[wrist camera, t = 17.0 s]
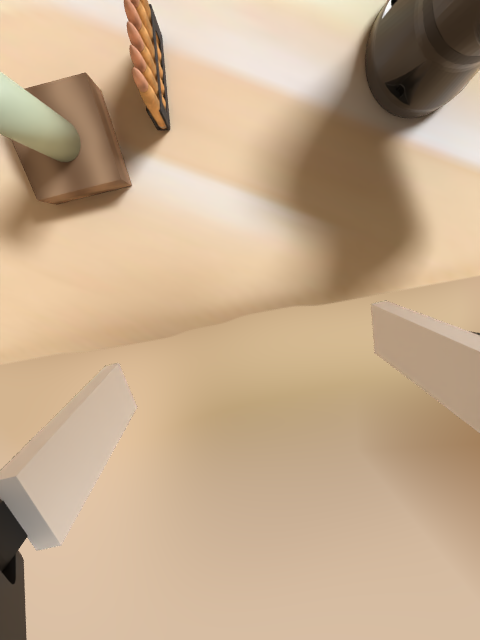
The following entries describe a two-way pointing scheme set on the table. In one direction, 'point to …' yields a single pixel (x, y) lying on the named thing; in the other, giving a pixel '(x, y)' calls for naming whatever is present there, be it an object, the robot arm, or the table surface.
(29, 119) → the sage cylinder
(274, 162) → the table surface
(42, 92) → the walnut plinth
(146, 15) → the ammunition clip
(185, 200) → the table surface
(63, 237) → the table surface
